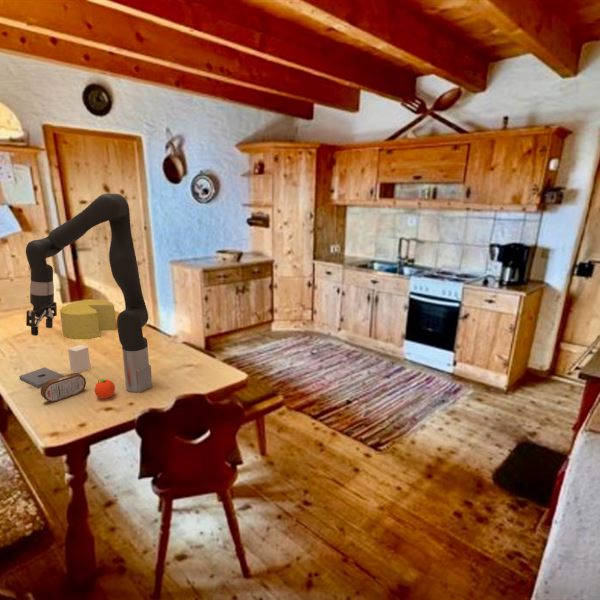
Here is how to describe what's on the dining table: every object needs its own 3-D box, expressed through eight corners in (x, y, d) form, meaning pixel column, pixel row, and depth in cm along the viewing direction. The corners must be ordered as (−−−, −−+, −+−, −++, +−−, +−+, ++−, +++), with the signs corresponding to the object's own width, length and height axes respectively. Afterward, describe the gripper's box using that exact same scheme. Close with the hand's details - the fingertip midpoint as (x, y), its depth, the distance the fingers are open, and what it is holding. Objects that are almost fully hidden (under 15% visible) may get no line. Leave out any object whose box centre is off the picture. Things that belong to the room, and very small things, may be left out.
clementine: (90, 397, 149) (88, 380, 147) (107, 390, 154) (105, 373, 152) (102, 403, 145) (100, 386, 143) (119, 396, 150) (117, 379, 148)
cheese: (118, 335, 212) (116, 308, 208) (62, 342, 200) (58, 314, 196) (114, 321, 234) (111, 297, 230) (63, 327, 221) (60, 301, 217)
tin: (84, 388, 155) (82, 369, 153) (88, 391, 153) (85, 371, 151) (41, 403, 144) (38, 382, 142) (45, 406, 142) (41, 385, 140)
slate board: (64, 378, 162) (63, 375, 162) (38, 388, 154) (38, 385, 153) (45, 370, 169) (44, 367, 168) (19, 379, 160) (19, 376, 160)
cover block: (90, 368, 172) (88, 347, 170) (78, 373, 168) (75, 351, 165) (83, 365, 175) (80, 344, 172) (70, 369, 170) (67, 348, 168)
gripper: (39, 298, 141) (39, 339, 145) (63, 288, 155) (62, 327, 159) (18, 294, 141) (19, 336, 145) (44, 285, 155) (44, 323, 159)
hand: (42, 331), depth 152 cm, fingers open, 8 cm apart
